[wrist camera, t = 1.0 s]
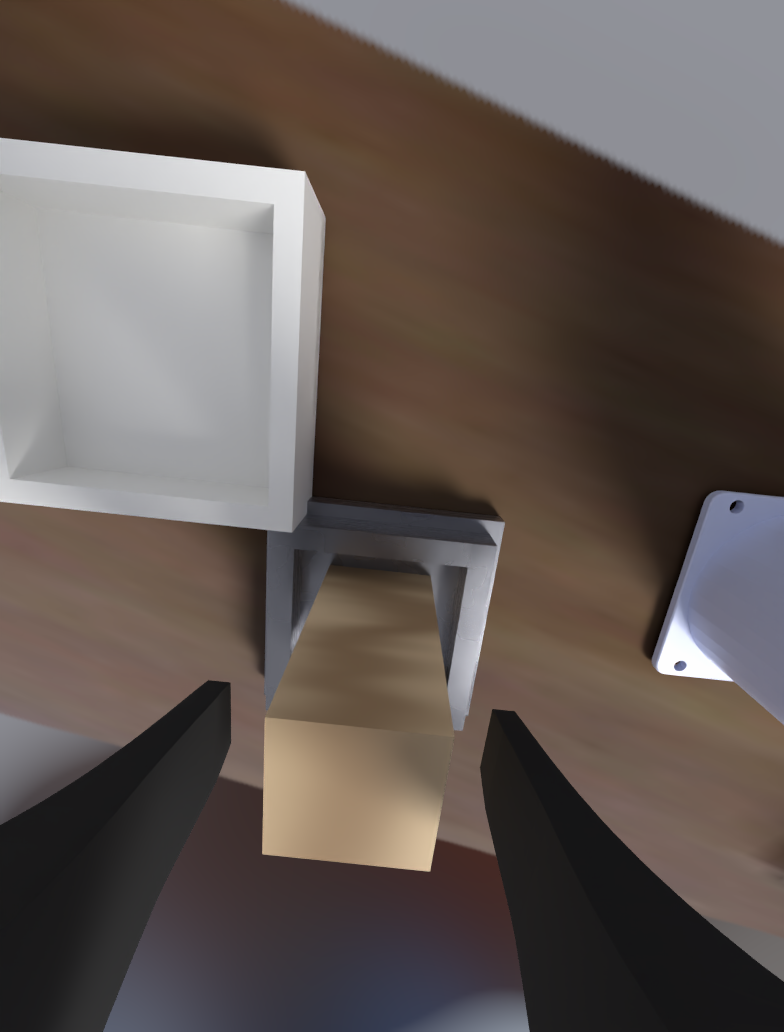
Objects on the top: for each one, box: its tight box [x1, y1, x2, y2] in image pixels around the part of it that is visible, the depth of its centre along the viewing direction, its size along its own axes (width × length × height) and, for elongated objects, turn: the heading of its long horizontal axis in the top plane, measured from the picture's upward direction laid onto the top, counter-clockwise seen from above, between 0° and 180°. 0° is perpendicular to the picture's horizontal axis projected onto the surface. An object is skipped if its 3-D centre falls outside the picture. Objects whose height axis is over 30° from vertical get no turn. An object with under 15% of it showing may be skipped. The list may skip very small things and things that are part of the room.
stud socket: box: [264, 496, 505, 731], centre depth 17 cm, size 9×9×2 cm
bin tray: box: [0, 138, 326, 533], centre depth 14 cm, size 10×10×3 cm
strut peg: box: [262, 565, 454, 871], centre depth 13 cm, size 4×4×8 cm
